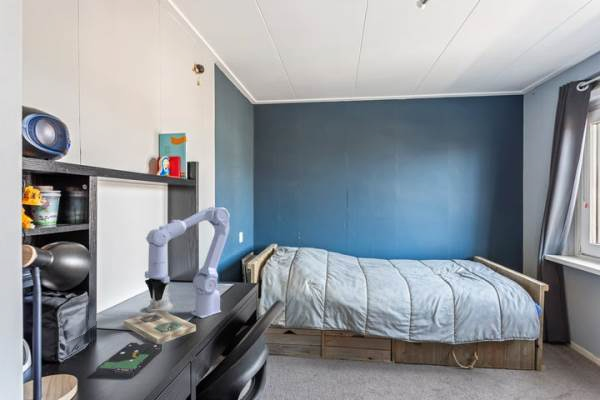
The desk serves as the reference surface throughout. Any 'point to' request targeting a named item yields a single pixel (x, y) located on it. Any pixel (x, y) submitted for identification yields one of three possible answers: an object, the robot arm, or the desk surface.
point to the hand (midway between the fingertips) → (156, 299)
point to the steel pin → (155, 302)
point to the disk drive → (129, 360)
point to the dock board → (159, 326)
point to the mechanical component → (164, 305)
